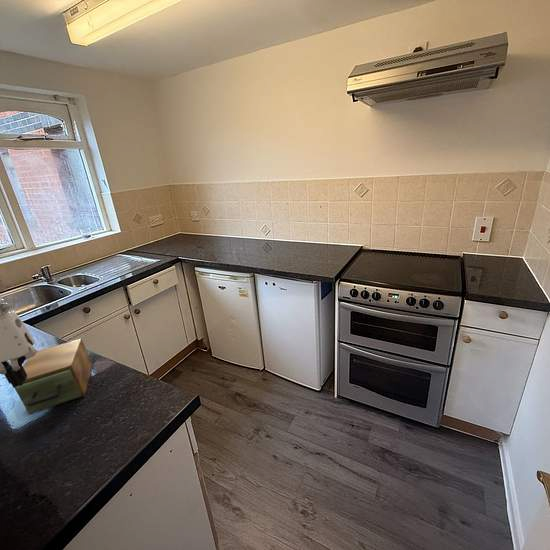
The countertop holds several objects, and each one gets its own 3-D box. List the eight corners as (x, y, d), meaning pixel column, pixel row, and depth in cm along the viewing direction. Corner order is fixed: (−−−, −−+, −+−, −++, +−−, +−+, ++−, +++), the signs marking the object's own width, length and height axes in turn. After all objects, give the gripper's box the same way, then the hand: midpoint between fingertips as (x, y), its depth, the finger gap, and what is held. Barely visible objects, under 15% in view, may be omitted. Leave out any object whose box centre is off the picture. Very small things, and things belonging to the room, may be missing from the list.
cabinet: (85, 395, 85) (71, 365, 82) (29, 414, 81) (11, 383, 77) (92, 365, 99) (81, 338, 95) (45, 380, 95) (31, 352, 91)
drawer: (77, 407, 80) (65, 381, 77) (23, 426, 76) (7, 399, 73) (88, 367, 97) (78, 344, 93) (44, 381, 93) (32, 358, 89)
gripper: (31, 297, 68) (61, 363, 75) (-53, 316, 63) (-13, 384, 70) (19, 310, 62) (53, 381, 68) (-75, 332, 57) (-28, 406, 63)
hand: (20, 382), depth 69 cm, fingers closed
